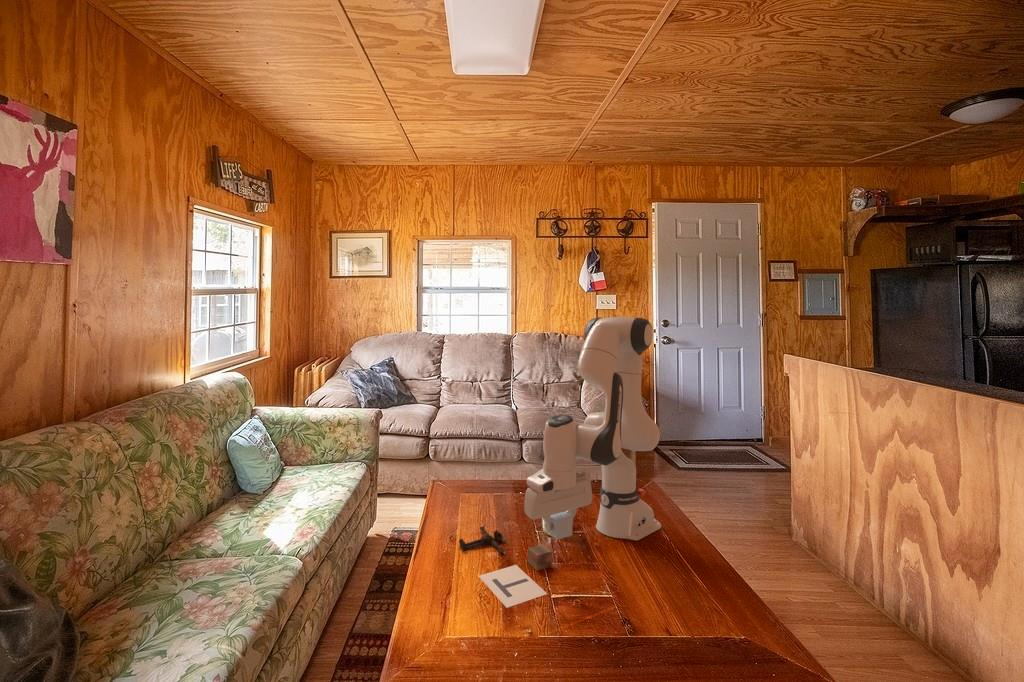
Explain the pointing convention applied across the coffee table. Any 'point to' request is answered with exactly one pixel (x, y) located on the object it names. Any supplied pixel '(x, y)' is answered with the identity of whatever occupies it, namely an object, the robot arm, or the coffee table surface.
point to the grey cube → (561, 525)
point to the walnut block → (539, 557)
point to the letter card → (512, 585)
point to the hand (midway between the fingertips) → (559, 526)
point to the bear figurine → (484, 541)
